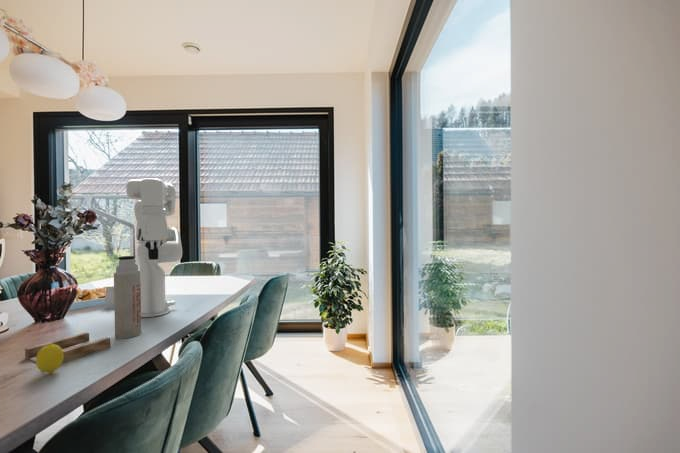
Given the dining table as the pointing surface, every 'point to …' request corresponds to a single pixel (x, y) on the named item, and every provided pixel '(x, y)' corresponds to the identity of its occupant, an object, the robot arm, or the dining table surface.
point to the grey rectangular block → (109, 298)
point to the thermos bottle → (127, 298)
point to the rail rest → (72, 347)
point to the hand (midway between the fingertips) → (153, 259)
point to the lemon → (49, 358)
